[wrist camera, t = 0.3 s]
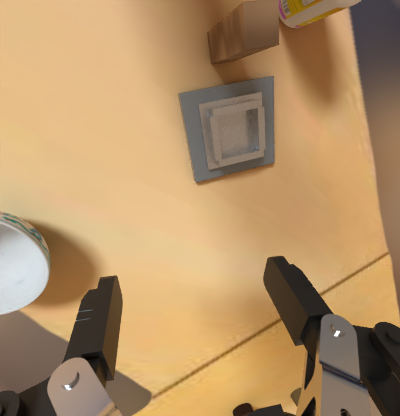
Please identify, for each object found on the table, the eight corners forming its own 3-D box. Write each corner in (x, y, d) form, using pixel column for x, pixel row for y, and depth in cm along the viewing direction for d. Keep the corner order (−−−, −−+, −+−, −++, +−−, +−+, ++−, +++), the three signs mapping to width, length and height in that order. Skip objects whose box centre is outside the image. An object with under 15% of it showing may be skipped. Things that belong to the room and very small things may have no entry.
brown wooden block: (207, 32, 30) (242, 2, 20) (232, 29, 30) (278, -3, 21) (211, 64, 31) (245, 49, 22) (235, 60, 32) (278, 44, 22)
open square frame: (197, 104, 32) (202, 104, 30) (259, 91, 34) (268, 91, 31) (207, 168, 37) (212, 173, 34) (262, 155, 38) (270, 159, 36)
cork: (287, 395, 82) (308, 435, 72) (301, 385, 81) (323, 424, 71) (295, 399, 84) (315, 438, 75) (308, 389, 84) (330, 427, 74)
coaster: (178, 93, 32) (179, 93, 31) (270, 76, 34) (273, 75, 33) (194, 180, 38) (195, 182, 37) (271, 161, 40) (274, 162, 39)
